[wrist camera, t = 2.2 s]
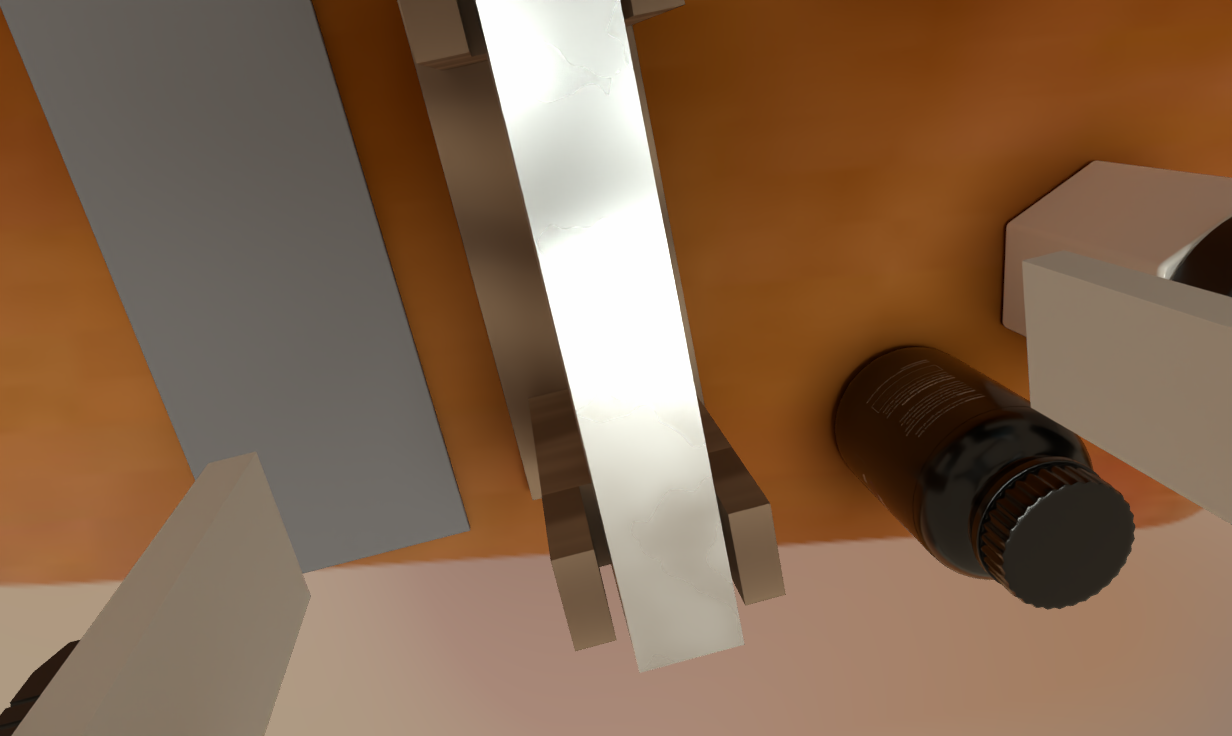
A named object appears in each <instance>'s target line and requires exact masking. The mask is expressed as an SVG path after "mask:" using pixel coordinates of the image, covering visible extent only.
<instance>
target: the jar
mask: <svg viewBox="0 0 1232 736" xmlns="http://www.w3.org/2000/svg"><path fill="white" fill-rule="evenodd" d="M1063 250H1065V251H1068V252H1072V253H1075V254H1079V255H1083V256H1086V257H1090V258H1093V259H1097V260H1100V261H1104V262H1107V263H1111V264H1115V265H1118V266H1122V267H1125V268H1129V269H1132V270H1136V271H1139V272H1143V273H1147V274H1150V275H1154V276H1157V277H1161V278H1164V279H1168V280H1171V281H1175V282H1179V283H1182V284H1186V285H1189V286H1193V287H1196V288H1200V289H1203V290H1207V291H1211V292H1214V293H1218V294H1221V295H1225V296H1228V297H1232V178H1230V177H1223V176H1215V175H1207V174H1199V173H1191V172H1184V171H1176V170H1168V169H1160V168H1153V167H1145V166H1137V165H1129V164H1121V163H1114V162H1106V161H1093V162H1091V163H1090V164H1089V165H1087V166H1086V167H1085V168H1083V169H1082V170H1080V171H1079V172H1078V173H1076V174H1075V175H1074V176H1072V177H1071V178H1069V179H1068V180H1067V181H1065V182H1064V183H1063V184H1061V185H1060V186H1058V187H1057V188H1056V189H1054V190H1053V191H1052V192H1050V193H1049V194H1047V195H1046V196H1045V197H1043V198H1042V199H1041V200H1039V201H1038V202H1036V203H1035V204H1034V205H1032V206H1031V207H1030V208H1028V209H1027V210H1025V211H1024V212H1023V213H1021V214H1020V215H1018V216H1017V217H1016V218H1014V219H1013V220H1012V221H1010V222H1009V223H1008V224H1007V226H1006V246H1005V273H1004V299H1003V325H1004V326H1005V327H1006V328H1008V329H1010V330H1012V331H1014V332H1016V333H1018V334H1021V335H1023V336H1025V337H1027V335H1026V319H1025V302H1024V285H1023V268H1022V261H1023V260H1027V259H1031V258H1035V257H1039V256H1043V255H1047V254H1051V253H1055V252H1059V251H1063Z"/></svg>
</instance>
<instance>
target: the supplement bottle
mask: <svg viewBox="0 0 1232 736" xmlns="http://www.w3.org/2000/svg"><path fill="white" fill-rule="evenodd" d="M835 435H836V441H837V445H838V449H839V452H840V454H841V456H842V458H843V460H844V461H845V463H846V464H847V466H848V467H849V468H850V470H851V471H852V472H853V473H854V474H855V475H856V476H857V477H858V479H859V480H860V481H861V482H862V483H863V484H864V485H865V486H866V487H867V488H868V489H869V490H870V491H871V492H872V493H873V494H874V495H875V496H876V498H877V499H878V500H879V501H880V502H881V503H882V504H883V505H884V506H885V507H886V508H887V509H888V510H889V511H890V512H891V513H892V514H893V515H894V516H895V517H896V518H897V519H898V520H899V521H900V523H901V524H902V525H903V526H904V527H905V528H906V529H907V530H908V531H909V532H910V533H911V534H912V535H913V536H914V537H915V538H916V539H917V540H918V541H919V542H920V543H921V544H922V545H923V546H924V547H925V549H926V550H927V551H929V552H930V554H931V555H933V556H934V557H935V558H936V559H937V560H938V561H939V562H941V563H942V564H943V565H944V566H946V567H947V568H949V569H951V570H953V571H955V572H957V573H959V574H962V575H965V576H968V577H972V578H977V579H984V580H995V581H997V582H998V583H1000V584H1002V585H1003V586H1004V587H1005V588H1006V589H1007V590H1008V591H1009V592H1010V593H1011V594H1012V595H1014V596H1015V597H1018V598H1019V599H1020V600H1021V601H1022V602H1024V603H1026V604H1031V605H1033V606H1034V607H1036V608H1040V607H1044V608H1045V609H1052V608H1058V609H1061V608H1064V607H1066V606H1074V605H1076V604H1077V603H1078V602H1082V601H1086V600H1087V599H1089V598H1090V597H1091V596H1093V595H1096V594H1098V593H1099V592H1100V590H1101V589H1102V588H1104V587H1106V586H1108V585H1109V584H1110V582H1111V581H1112V579H1113V578H1114V577H1116V576H1117V575H1118V573H1119V571H1120V569H1121V568H1122V567H1123V566H1124V564H1125V563H1126V560H1127V556H1128V555H1129V554H1130V552H1131V545H1132V543H1133V541H1134V539H1135V538H1134V530H1135V524H1134V523H1133V517H1134V515H1133V513H1132V512H1131V511H1130V506H1129V503H1128V502H1127V501H1125V500H1124V498H1123V495H1122V494H1121V493H1120V492H1118V491H1117V490H1115V489H1114V488H1113V487H1112V486H1111V485H1110V484H1108V483H1107V482H1105V481H1104V480H1102V479H1101V478H1100V477H1099V476H1098V475H1097V474H1096V473H1095V472H1094V471H1093V466H1092V462H1091V459H1090V456H1089V453H1088V451H1087V449H1086V447H1085V445H1084V443H1083V442H1082V440H1081V439H1080V437H1079V436H1078V435H1077V434H1076V433H1074V432H1072V431H1071V430H1069V429H1067V428H1065V427H1064V426H1062V425H1060V424H1059V423H1057V422H1055V421H1053V420H1052V419H1050V418H1048V417H1047V416H1045V415H1043V414H1041V413H1040V412H1038V411H1036V410H1035V409H1033V408H1031V403H1030V401H1028V400H1027V399H1025V398H1023V397H1022V396H1020V395H1018V394H1016V393H1015V392H1013V391H1011V390H1010V389H1008V388H1006V387H1005V386H1003V385H1001V384H999V383H998V382H996V381H994V380H993V379H991V378H989V377H987V376H986V375H984V374H982V373H981V372H979V371H977V370H975V369H974V368H972V367H970V366H969V365H967V364H965V363H963V362H962V361H960V360H958V359H956V358H955V357H953V356H951V355H949V354H947V353H944V352H942V351H939V350H936V349H932V348H925V347H910V348H903V349H899V350H895V351H892V352H889V353H887V354H885V355H883V356H881V357H879V358H877V359H875V360H874V361H872V362H871V363H869V364H868V365H867V366H866V367H864V368H863V369H862V370H861V371H860V372H859V373H858V374H857V375H856V376H855V377H854V379H853V380H852V381H851V383H850V384H849V385H848V387H847V389H846V390H845V392H844V394H843V396H842V398H841V401H840V403H839V406H838V410H837V414H836V421H835Z"/></svg>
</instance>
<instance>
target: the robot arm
mask: <svg viewBox="0 0 1232 736" xmlns="http://www.w3.org/2000/svg"><path fill="white" fill-rule="evenodd" d="M1022 268H1023V285H1024V302H1025V319H1026V335H1027V352H1028V369H1029V386H1030V403H1031V408H1033V409H1035V410H1036V411H1038V412H1040V413H1041V414H1043V415H1045V416H1047V417H1048V418H1050V419H1052V420H1053V421H1055V422H1057V423H1059V424H1060V425H1062V426H1064V427H1065V428H1067V429H1069V430H1071V431H1072V432H1074V433H1076V434H1077V435H1079V436H1081V437H1083V438H1084V439H1086V440H1088V441H1089V442H1091V443H1093V444H1095V445H1096V446H1098V447H1100V448H1101V449H1103V450H1105V451H1107V452H1108V453H1110V454H1112V455H1113V456H1115V457H1117V458H1118V459H1120V460H1122V461H1124V462H1125V463H1127V464H1129V465H1130V466H1132V467H1134V468H1136V469H1137V470H1139V471H1141V472H1142V473H1144V474H1146V475H1148V476H1149V477H1151V478H1153V479H1154V480H1156V481H1158V482H1160V483H1161V484H1163V485H1165V486H1166V487H1168V488H1170V489H1172V490H1173V491H1175V492H1177V493H1178V494H1180V495H1182V496H1184V497H1185V498H1187V499H1189V500H1190V501H1192V502H1194V503H1196V504H1197V505H1199V506H1201V507H1202V508H1204V509H1206V510H1208V511H1209V512H1211V513H1213V514H1214V515H1216V516H1218V517H1220V518H1221V519H1223V520H1225V521H1227V522H1228V523H1230V524H1232V297H1228V296H1225V295H1221V294H1218V293H1214V292H1211V291H1207V290H1203V289H1200V288H1196V287H1193V286H1189V285H1186V284H1182V283H1179V282H1175V281H1171V280H1168V279H1164V278H1161V277H1157V276H1154V275H1150V274H1147V273H1143V272H1139V271H1136V270H1132V269H1129V268H1125V267H1122V266H1118V265H1115V264H1111V263H1107V262H1104V261H1100V260H1097V259H1093V258H1090V257H1086V256H1083V255H1079V254H1075V253H1072V252H1068V251H1065V250H1063V251H1059V252H1055V253H1051V254H1047V255H1043V256H1039V257H1035V258H1031V259H1027V260H1023V261H1022ZM310 597H311V595H310V592H309V590H308V587H307V584H306V582H305V579H304V576H303V574H302V571H301V568H300V566H299V563H298V561H297V558H296V555H295V553H294V550H293V547H292V545H291V542H290V540H289V537H288V534H287V532H286V529H285V526H284V524H283V521H282V518H281V516H280V513H279V511H278V508H277V505H276V503H275V500H274V497H273V495H272V492H271V489H270V487H269V484H268V482H267V479H266V476H265V474H264V471H263V468H262V466H261V463H260V461H259V458H258V455H257V453H256V452H252V453H248V454H244V455H240V456H236V457H232V458H228V459H224V460H220V461H216V462H212V463H208V464H207V466H206V467H205V468H204V470H203V471H202V473H201V474H200V475H199V477H198V478H197V480H196V481H195V482H194V484H193V485H192V486H191V488H190V489H189V491H188V492H187V493H186V495H185V496H184V498H183V499H182V500H181V502H180V503H179V504H178V506H177V507H176V509H175V510H174V511H173V513H172V514H171V516H170V517H169V518H168V520H167V521H166V522H165V524H164V525H163V527H162V528H161V529H160V531H159V532H158V534H157V535H156V536H155V538H154V539H153V540H152V542H151V543H150V545H149V546H148V547H147V549H146V550H145V552H144V553H143V554H142V556H141V557H140V558H139V560H138V561H137V563H136V564H135V565H134V567H133V568H132V569H131V571H130V572H129V574H128V575H127V576H126V578H125V579H124V581H123V582H122V583H121V585H120V586H119V587H118V589H117V590H116V592H115V593H114V594H113V596H112V597H111V599H110V600H109V602H108V603H107V604H106V606H105V607H104V608H103V610H102V611H101V612H100V614H99V615H98V617H97V618H96V619H95V621H94V622H93V623H92V625H91V626H90V628H89V629H88V630H87V632H86V633H85V635H84V636H83V637H82V639H81V640H77V641H74V642H70V643H68V644H67V645H66V646H64V648H62V649H61V650H60V651H58V652H57V653H56V654H55V655H54V656H52V657H51V658H50V659H49V660H48V661H46V662H45V663H44V664H43V665H41V666H40V667H39V668H38V669H37V670H35V671H34V672H33V673H32V675H31V676H30V677H29V678H28V680H27V681H26V682H25V684H24V685H23V686H22V688H21V689H20V690H19V692H18V693H17V694H16V695H15V697H14V698H13V699H12V701H11V702H10V704H11V707H9V708H6V709H5V710H4V711H3V712H2V714H1V715H0V736H264V735H265V732H266V729H267V725H268V723H269V720H270V717H271V714H272V711H273V708H274V705H275V702H276V699H277V696H278V693H279V690H280V687H281V684H282V681H283V678H284V675H285V672H286V669H287V666H288V663H289V660H290V657H291V654H292V651H293V648H294V645H295V642H296V639H297V636H298V633H299V630H300V626H301V624H302V621H303V618H304V615H305V612H306V609H307V606H308V603H309V600H310Z"/></svg>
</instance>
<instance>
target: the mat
mask: <svg viewBox="0 0 1232 736" xmlns="http://www.w3.org/2000/svg"><path fill="white" fill-rule="evenodd" d="M0 6H1V9H2V11H3V14H4V16H5V19H6V21H7V23H8V26H9V28H10V31H11V33H12V36H13V38H14V40H15V43H16V45H17V48H18V50H19V53H20V55H21V57H22V60H23V62H24V65H25V67H26V70H27V72H28V75H29V77H30V79H31V82H32V84H33V87H34V89H35V92H36V94H37V96H38V99H39V101H40V104H41V106H42V109H43V111H44V113H45V116H46V118H47V121H48V123H49V126H50V128H51V130H52V133H53V135H54V138H55V140H56V143H57V145H58V147H59V150H60V152H61V155H62V157H63V160H64V162H65V165H66V167H67V169H68V172H69V174H70V177H71V179H72V182H73V184H74V186H75V189H76V191H77V194H78V196H79V199H80V201H81V203H82V206H83V208H84V211H85V213H86V216H87V218H88V220H89V223H90V225H91V228H92V230H93V233H94V235H95V237H96V240H97V242H98V245H99V247H100V250H101V252H102V254H103V257H104V259H105V262H106V264H107V267H108V269H109V272H110V274H111V276H112V279H113V281H114V284H115V286H116V289H117V291H118V293H119V296H120V298H121V301H122V303H123V306H124V308H125V310H126V313H127V315H128V318H129V320H130V323H131V325H132V327H133V330H134V332H135V335H136V337H137V340H138V342H139V344H140V347H141V349H142V352H143V354H144V357H145V359H146V362H147V364H148V366H149V369H150V371H151V374H152V376H153V379H154V381H155V383H156V386H157V388H158V391H159V393H160V396H161V398H162V400H163V403H164V405H165V408H166V410H167V413H168V415H169V417H170V420H171V422H172V425H173V427H174V430H175V432H176V434H177V437H178V439H179V442H180V444H181V447H182V449H183V451H184V454H185V456H186V459H187V461H188V464H189V466H190V469H191V471H192V473H193V476H194V478H195V481H196V480H197V478H198V477H199V475H200V474H201V473H202V471H203V470H204V468H205V467H206V466H207V464H208V463H212V462H216V461H220V460H224V459H228V458H232V457H236V456H240V455H244V454H248V453H252V452H256V453H257V455H258V458H259V461H260V463H261V466H262V468H263V471H264V474H265V476H266V479H267V482H268V484H269V487H270V489H271V492H272V495H273V497H274V500H275V503H276V505H277V508H278V511H279V513H280V516H281V518H282V521H283V524H284V526H285V529H286V532H287V534H288V537H289V540H290V542H291V545H292V547H293V550H294V553H295V555H296V558H297V561H298V563H299V566H300V568H301V571H302V574H303V573H307V572H311V571H314V570H318V569H322V568H326V567H330V566H334V565H338V564H342V563H346V562H349V561H353V560H357V559H361V558H365V557H369V556H373V555H377V554H381V553H384V552H388V551H392V550H396V549H400V548H404V547H408V546H412V545H415V544H419V543H423V542H427V541H431V540H435V539H439V538H443V537H447V536H450V535H454V534H458V533H462V532H466V531H470V525H469V522H468V518H467V515H466V512H465V509H464V505H463V502H462V499H461V495H460V492H459V489H458V485H457V482H456V479H455V475H454V472H453V469H452V465H451V462H450V459H449V455H448V452H447V449H446V445H445V442H444V439H443V435H442V432H441V429H440V426H439V422H438V419H437V416H436V412H435V409H434V406H433V402H432V399H431V396H430V392H429V389H428V386H427V382H426V379H425V376H424V372H423V369H422V366H421V362H420V359H419V356H418V352H417V349H416V346H415V343H414V339H413V336H412V333H411V329H410V326H409V323H408V319H407V316H406V313H405V309H404V306H403V303H402V299H401V296H400V293H399V289H398V286H397V283H396V279H395V276H394V273H393V269H392V266H391V263H390V260H389V256H388V253H387V250H386V246H385V243H384V240H383V236H382V233H381V230H380V226H379V223H378V220H377V216H376V213H375V210H374V206H373V203H372V200H371V196H370V193H369V190H368V186H367V183H366V180H365V177H364V173H363V170H362V167H361V163H360V160H359V157H358V153H357V150H356V147H355V143H354V140H353V137H352V133H351V130H350V127H349V123H348V120H347V117H346V113H345V110H344V107H343V103H342V100H341V97H340V94H339V90H338V87H337V84H336V80H335V77H334V74H333V70H332V67H331V64H330V60H329V57H328V54H327V50H326V47H325V44H324V40H323V37H322V34H321V30H320V27H319V24H318V20H317V17H316V14H315V11H314V7H313V4H312V1H311V0H0Z"/></svg>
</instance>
